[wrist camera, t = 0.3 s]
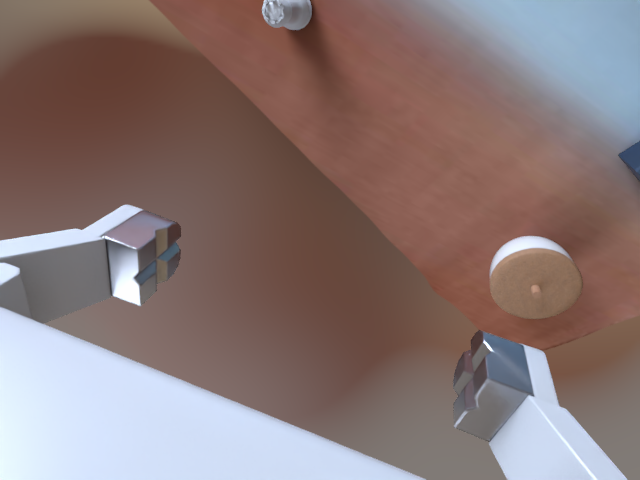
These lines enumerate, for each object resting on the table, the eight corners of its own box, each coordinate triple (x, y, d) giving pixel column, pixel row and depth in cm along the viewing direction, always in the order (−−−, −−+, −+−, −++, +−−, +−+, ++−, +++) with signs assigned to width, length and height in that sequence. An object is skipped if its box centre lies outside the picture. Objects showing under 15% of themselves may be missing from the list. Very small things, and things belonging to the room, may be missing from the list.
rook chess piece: (292, 37, 52) (268, 42, 46) (273, 3, 51) (246, 4, 44) (319, 16, 50) (299, 18, 44) (300, -20, 49) (276, -23, 42)
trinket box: (585, 242, 55) (607, 282, 47) (538, 296, 61) (550, 339, 53) (512, 211, 56) (522, 245, 48) (472, 267, 62) (475, 306, 54)
